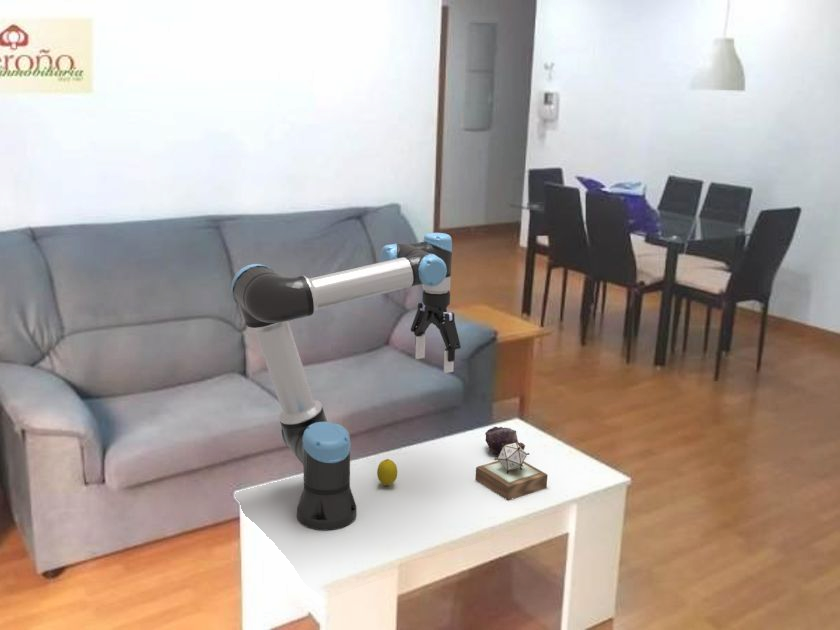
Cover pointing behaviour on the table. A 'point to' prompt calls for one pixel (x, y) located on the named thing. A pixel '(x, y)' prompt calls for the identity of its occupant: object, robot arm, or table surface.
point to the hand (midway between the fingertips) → (434, 365)
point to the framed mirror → (511, 479)
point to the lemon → (387, 472)
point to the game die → (512, 456)
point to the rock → (501, 438)
